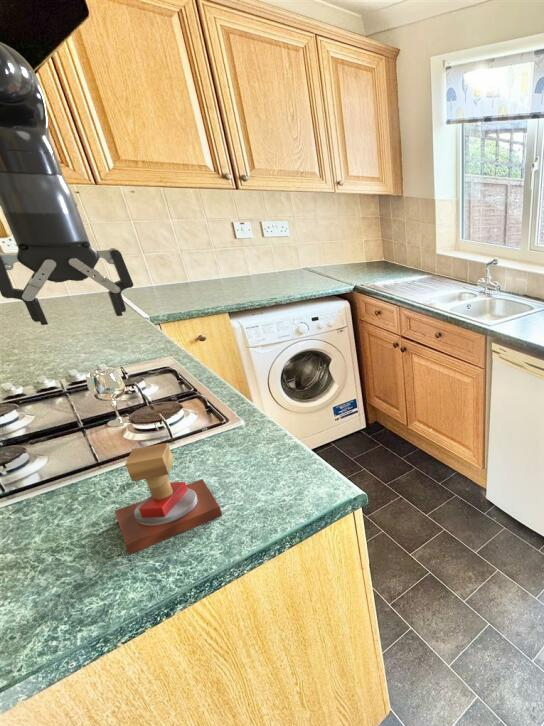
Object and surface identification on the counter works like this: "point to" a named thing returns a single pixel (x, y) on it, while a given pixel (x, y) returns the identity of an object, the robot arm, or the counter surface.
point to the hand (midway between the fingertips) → (83, 319)
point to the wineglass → (107, 390)
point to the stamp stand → (147, 536)
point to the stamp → (159, 486)
